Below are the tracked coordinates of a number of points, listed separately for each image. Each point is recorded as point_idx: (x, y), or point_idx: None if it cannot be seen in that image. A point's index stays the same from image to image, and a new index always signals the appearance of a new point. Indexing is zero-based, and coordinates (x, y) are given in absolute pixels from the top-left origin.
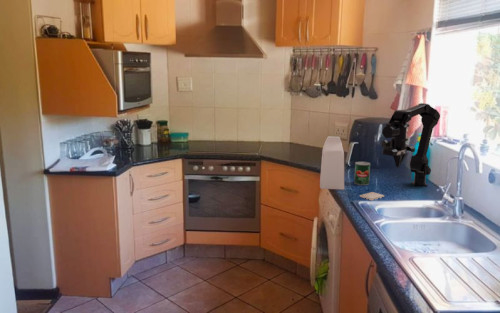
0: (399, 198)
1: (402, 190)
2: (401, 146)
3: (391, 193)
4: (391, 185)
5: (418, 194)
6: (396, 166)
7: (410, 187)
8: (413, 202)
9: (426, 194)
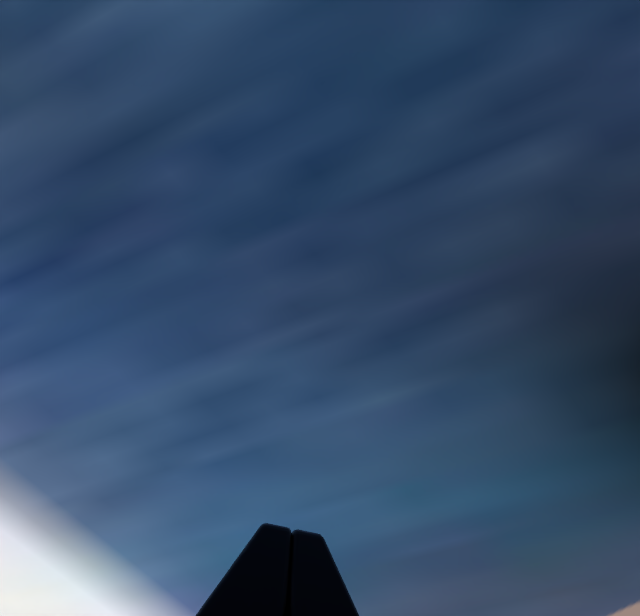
0: (19, 436)
1: (384, 341)
2: None
3: (138, 287)
4: (576, 101)
5: (333, 529)
6: (248, 546)
7: (608, 367)
8: (11, 575)
9: (390, 583)
